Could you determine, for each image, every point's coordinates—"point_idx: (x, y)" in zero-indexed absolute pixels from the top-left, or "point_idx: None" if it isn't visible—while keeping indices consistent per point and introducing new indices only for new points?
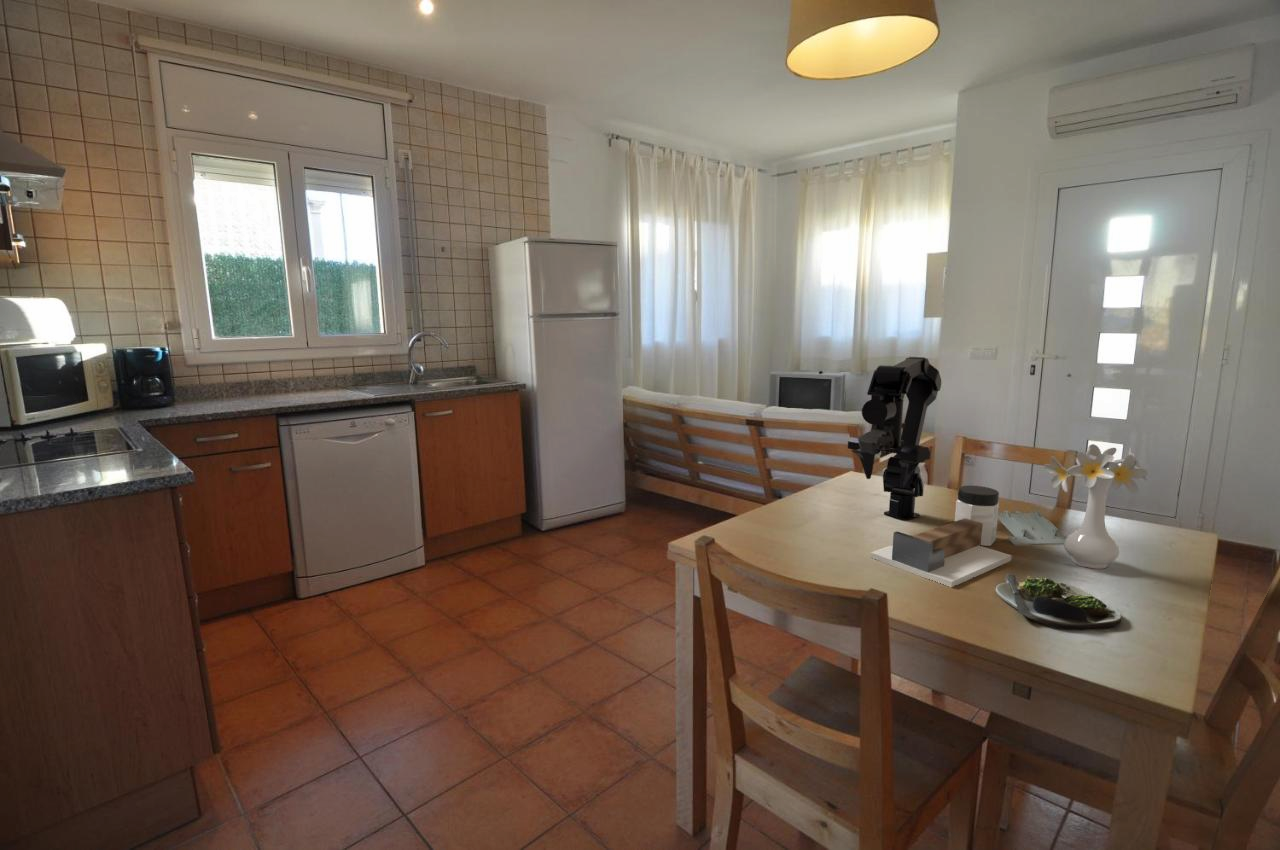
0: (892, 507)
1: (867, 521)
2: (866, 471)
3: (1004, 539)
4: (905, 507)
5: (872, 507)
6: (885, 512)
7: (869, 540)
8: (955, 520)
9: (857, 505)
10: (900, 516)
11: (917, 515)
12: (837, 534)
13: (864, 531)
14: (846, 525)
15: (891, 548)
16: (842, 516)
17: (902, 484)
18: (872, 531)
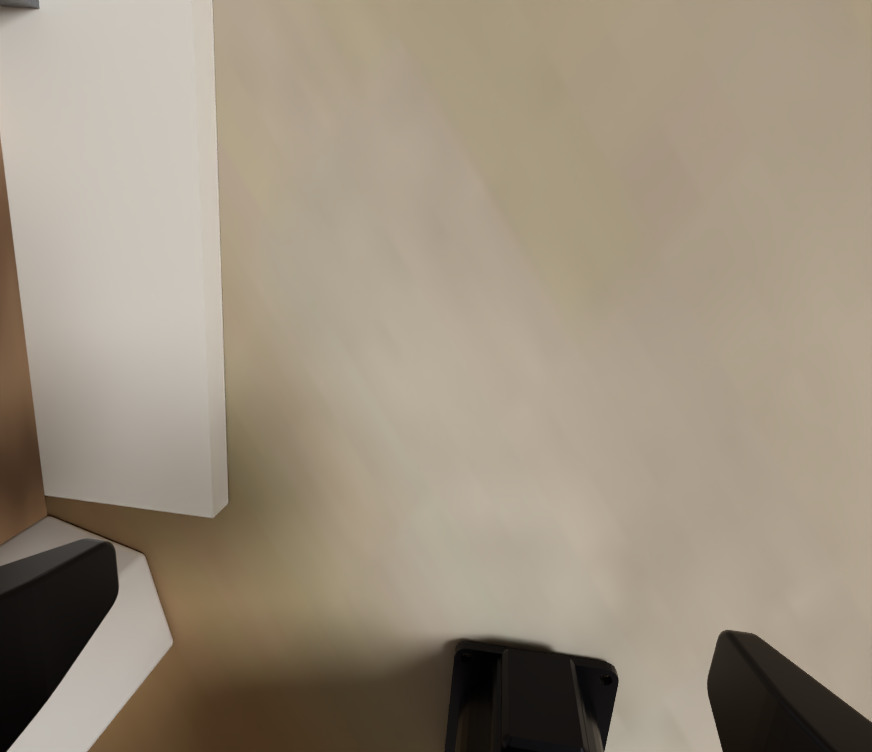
0: (550, 696)
1: (623, 477)
2: (834, 736)
3: None
4: (477, 734)
5: None
6: (610, 682)
7: (409, 135)
8: None
9: None
10: (495, 661)
11: (445, 745)
12: (641, 47)
13: (531, 277)
14: (693, 292)
15: (155, 2)
16: (817, 448)
17: (34, 558)
18: (494, 320)
